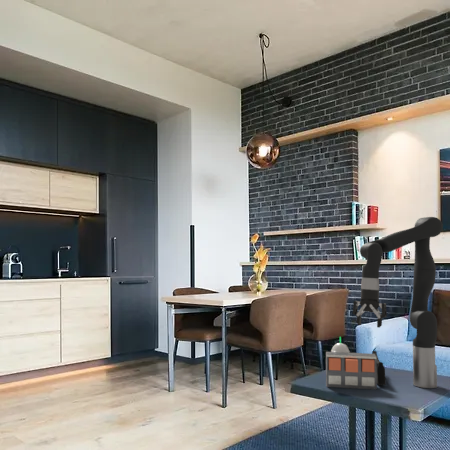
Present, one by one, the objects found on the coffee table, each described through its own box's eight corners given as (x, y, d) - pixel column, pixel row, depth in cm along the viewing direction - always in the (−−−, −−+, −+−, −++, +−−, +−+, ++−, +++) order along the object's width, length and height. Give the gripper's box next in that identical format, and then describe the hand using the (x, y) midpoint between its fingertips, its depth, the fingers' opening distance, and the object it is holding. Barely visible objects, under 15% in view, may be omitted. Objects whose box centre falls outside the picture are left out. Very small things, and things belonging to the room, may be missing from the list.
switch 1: (340, 368, 216) (340, 356, 216) (340, 370, 211) (340, 358, 211) (328, 367, 216) (328, 356, 217) (329, 370, 211) (328, 358, 212)
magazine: (386, 368, 210) (377, 337, 239) (378, 367, 211) (370, 337, 240) (385, 403, 214) (376, 369, 243) (377, 403, 215) (370, 369, 243)
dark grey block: (374, 386, 215) (374, 353, 216) (376, 389, 208) (376, 356, 210) (326, 383, 218) (325, 351, 219) (326, 387, 212) (326, 354, 213)
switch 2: (356, 369, 212) (356, 358, 213) (358, 372, 208) (357, 360, 208) (345, 369, 213) (345, 357, 214) (345, 371, 208) (345, 359, 209)
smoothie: (348, 379, 226) (348, 335, 228) (351, 384, 218) (351, 338, 219) (330, 379, 227) (330, 335, 228) (332, 383, 219) (332, 338, 220)
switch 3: (372, 369, 213) (372, 358, 214) (374, 372, 208) (374, 360, 209) (361, 369, 214) (361, 357, 214) (362, 371, 209) (362, 359, 210)
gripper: (389, 289, 211) (388, 327, 210) (357, 287, 220) (356, 324, 218) (383, 289, 205) (382, 328, 204) (351, 287, 214) (349, 324, 212)
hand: (369, 326), depth 211 cm, fingers open, 8 cm apart
